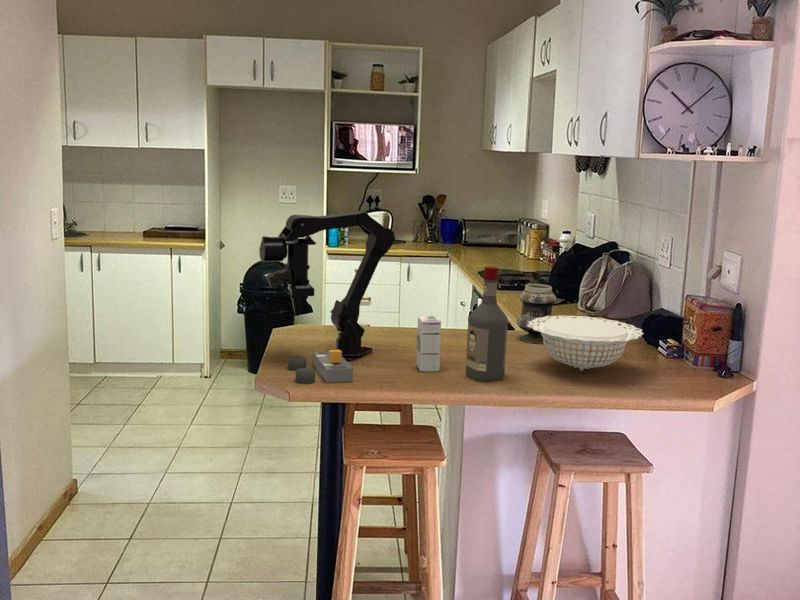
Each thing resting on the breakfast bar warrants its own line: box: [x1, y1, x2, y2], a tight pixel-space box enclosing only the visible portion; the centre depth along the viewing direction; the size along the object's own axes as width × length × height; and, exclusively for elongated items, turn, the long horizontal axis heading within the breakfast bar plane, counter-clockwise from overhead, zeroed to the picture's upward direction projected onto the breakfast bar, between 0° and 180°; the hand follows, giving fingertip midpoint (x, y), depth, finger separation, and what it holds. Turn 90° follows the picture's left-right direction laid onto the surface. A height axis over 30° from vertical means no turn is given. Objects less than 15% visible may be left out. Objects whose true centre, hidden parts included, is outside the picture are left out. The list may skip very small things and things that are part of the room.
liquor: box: [464, 266, 509, 383], centre depth 221 cm, size 9×9×30 cm
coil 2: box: [295, 367, 316, 385], centre depth 214 cm, size 5×5×3 cm
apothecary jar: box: [516, 283, 557, 344], centre depth 267 cm, size 12×12×18 cm
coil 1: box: [287, 355, 308, 372], centre depth 225 cm, size 5×5×3 cm
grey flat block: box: [312, 350, 354, 384], centre depth 222 cm, size 7×18×4 cm, turn 17°
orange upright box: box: [328, 349, 342, 363], centre depth 218 cm, size 3×2×3 cm, turn 107°
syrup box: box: [415, 315, 442, 372], centre depth 228 cm, size 6×6×14 cm
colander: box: [528, 315, 644, 372], centre depth 233 cm, size 32×32×13 cm
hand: (296, 315), depth 232 cm, fingers closed
